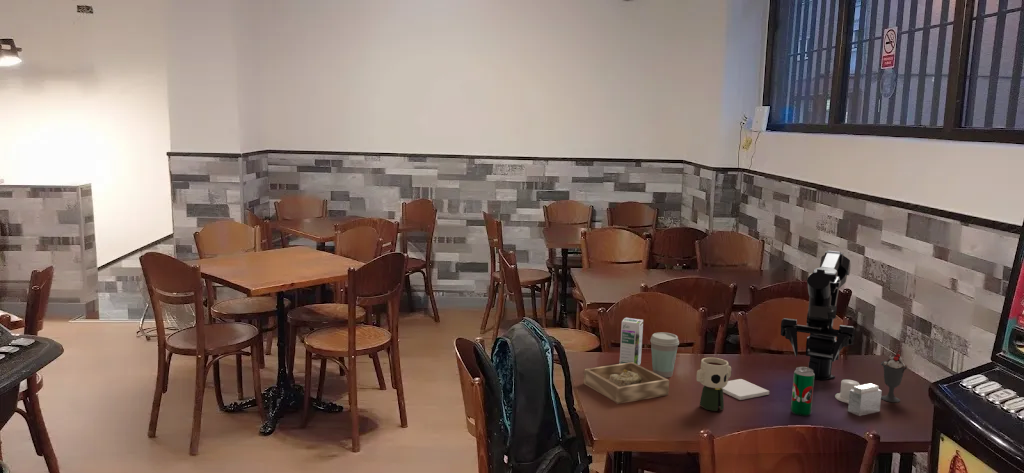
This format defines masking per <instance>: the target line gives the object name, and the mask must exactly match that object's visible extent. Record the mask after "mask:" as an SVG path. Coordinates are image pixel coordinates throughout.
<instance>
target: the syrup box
mask: <svg viewBox="0 0 1024 473" xmlns="http://www.w3.org/2000/svg"><path fill="white" fill-rule="evenodd" d="M620 328H621V329H620V350H619V361H618V362H619V363H618V364H622V363H629V362H634V363H636V364H638V365H640V366H641V362H642V351H643V350H642V348H643V331H644V319H640V318H632V317H624V318H623V319H622V320H621V327H620Z"/></svg>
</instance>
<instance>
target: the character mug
mask: <svg viewBox="0 0 1024 473" xmlns="http://www.w3.org/2000/svg"><path fill="white" fill-rule="evenodd" d="M731 375H732V367H731V365H729V361H728V360H725V359H722V358H718V357H705V358H701V360H700V369H698V370H696V382H699V383H700V384H701V385H703V387H702V391H701V395H700V400H699V406H701V407H702V408H704V409H705V410H708V411H716V412H717V411H718V408H719V410H720V411H723V410H724V409H725V408H724V405H725V403H724V399H725V398H724V392H723V389H722V388H724V387H725V386H726V385H727V383H728V381H729V379H730V378H731Z"/></svg>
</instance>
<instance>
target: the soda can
mask: <svg viewBox="0 0 1024 473" xmlns="http://www.w3.org/2000/svg"><path fill="white" fill-rule="evenodd" d="M814 377H815V374H814V373H813V370H812V369H810V368H808V366H798V367H795V370H794V371H793V379H792V391H791V392H792V393H791V402H790V411H791V412H792V413H793V414H794V415H796V416H799V417H800V416H803V417H806V416H807V417H808V416H810V415H811V414H812V407H813V396H814V386H815V378H814Z"/></svg>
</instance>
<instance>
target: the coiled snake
mask: <svg viewBox="0 0 1024 473" xmlns="http://www.w3.org/2000/svg"><path fill="white" fill-rule="evenodd" d="M641 380H642V378H641V377H640V376H639V375H638V374H637V373H634V372H631V371H628V370H625V369H624V371H623V373H622V374H621V375H617V374H612V375H610V378H609V380H608V381H610V382H612V383H614V384H616V385H617V386H619V387H621V386H627V385H633V384H640V383H641Z"/></svg>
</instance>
